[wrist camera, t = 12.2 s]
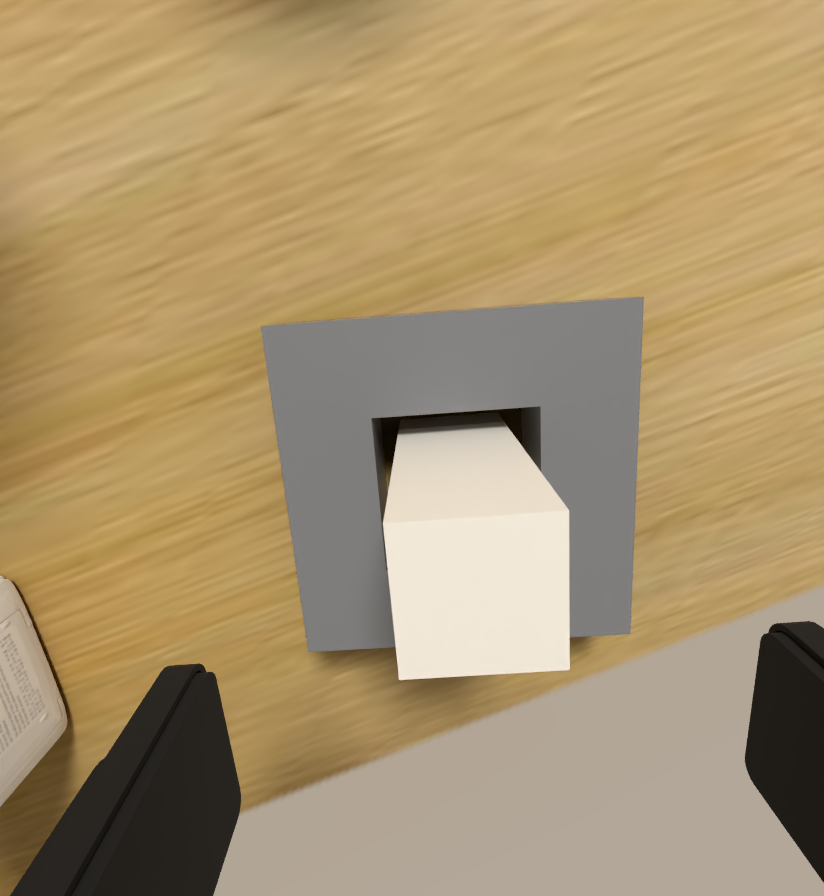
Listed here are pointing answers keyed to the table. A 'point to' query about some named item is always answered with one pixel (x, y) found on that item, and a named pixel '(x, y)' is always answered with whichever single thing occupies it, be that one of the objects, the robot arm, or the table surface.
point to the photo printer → (24, 694)
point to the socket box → (447, 391)
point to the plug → (474, 553)
